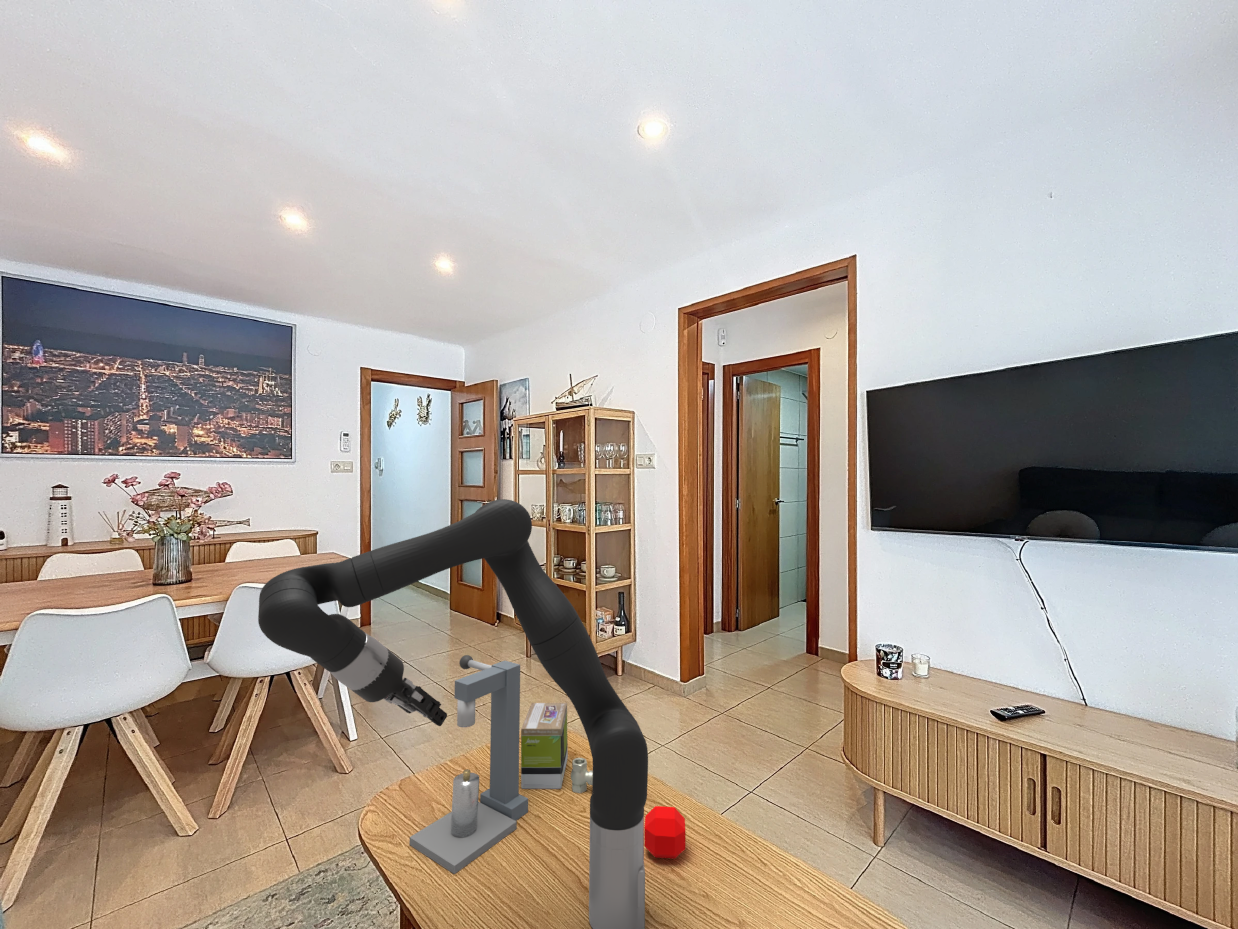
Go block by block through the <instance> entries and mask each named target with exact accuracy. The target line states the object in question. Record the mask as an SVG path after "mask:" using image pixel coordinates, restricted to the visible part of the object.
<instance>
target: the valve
mask: <svg viewBox="0 0 1238 929" xmlns="http://www.w3.org/2000/svg"><path fill="white" fill-rule="evenodd" d="M571 763H572V764H571V765H572V766H571V767H572V769H571V772H570V780H571V789H572V792H573V793H577V794H582V793H584V792H586V791H587V790H588V789H587V787H588V785H589V786H592V783H593V769H590V770H588V762H587V758H584V757H575V758H573V759H572V762H571Z"/></svg>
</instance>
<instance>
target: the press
mask: <svg viewBox="0 0 1238 929" xmlns="http://www.w3.org/2000/svg"><path fill="white" fill-rule="evenodd" d="M459 666H460V668H461V669H463V670H469V669H475V670H478V672H475V673H472V674H469V675H466V676H464V677H462V678H459V679H455V680H454V699H455V700H457V708H456V710H457V712H456V713H457V714H456V715H457V716H456V725H457V727H458V728H470V727H472V726H474V725H475V723H476V700H477V699H480V698H482V697H484V696H487V695H489V694H490V695H491V696H490V740H489V741H490V742H489V744H490V747H489V748H490V749H489V751H490V755H489V788H487V789H486V790H483V792H481V793H479V795H480V796H479V798H480V799H479V800H480V801H478V818H477V830H476V831H475V832H474V833H473V834H471V835H469V836H466V837H456V836H454V835H452V833H451V818H452V811H450V812H449V813H447V814H445V815H443V816H442V817H441V818H439V819H437V820H435V821H434V822H432V823H431V824H429V825H427V826H426V827H423V828H422V829H421V830H419V831H417V832H416V833H414V834H412V835H411V836H409V846H411V847H412V848H414V850H416V851H418V852H419V853H421V854H423V855H425V856H426V857H428V858H429V859H430V860H432V861H433V862H435V863H436V864H438V865H440V866H441V867H443V868H444V869H445V870H447V871H449V872H451V873H452V874H453V875H455V874H457V873H459V872H460V871H461V870H462V869H463V868H465V867H467V865H469V864H470V863H472V862H473V861H474V860H476V859H477V858H478V857H480V856H481V855H483V854H484V853H485V852H487V851H488V850H490V849H491V848H493V847H494V846H495V845H496V844H498V843H499V842H500V841H501V840H503V839H504V838H506V837H507V836H509V835H510V834H512V833H513V832H514V831H515V830H517V828H518V827H517V825H518V823H517V821H518V820H520V818H522V817H523V816H525V815H526V814H527V813H529V798H528V797H526V796H524V795H522V794H521V793H519V791H520V790H519V788H520V785H519V784H520V783H519V782H520V779H519V778H520V775H519V774H520V730H521V727H520V726H521V725H520V724H521V721H520V720H521V718H520V717H521V716H520V715H521V714H520V712H521V709H520V708H521V706H520V705H521V664H520V663H515V662H512V661H508V660H503V661H499V662H497V663H494V664H492V665H490V664H487V663H483V662H481V661H477V660H474V658H473V656H472V655H468V654H465V655H463V656H461V657H460V659H459ZM471 861H472V862H471Z"/></svg>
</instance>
